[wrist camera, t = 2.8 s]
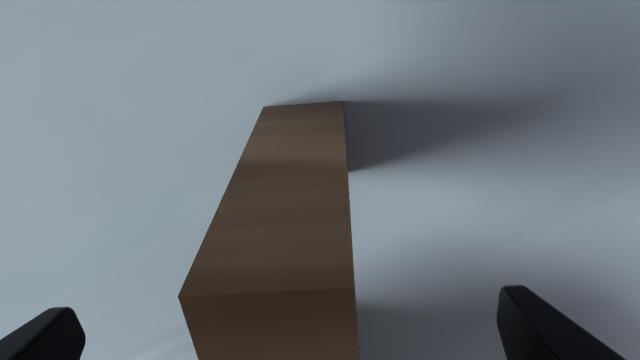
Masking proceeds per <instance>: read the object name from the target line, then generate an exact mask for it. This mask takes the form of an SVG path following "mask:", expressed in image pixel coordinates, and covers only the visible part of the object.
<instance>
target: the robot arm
mask: <svg viewBox="0 0 640 360" xmlns="http://www.w3.org/2000/svg"><path fill="white" fill-rule="evenodd" d="M497 326H498V330H499V333H500V337H501V340H502V343H503V347H504V350H505V353H506V357H507V360H626V359H625V358H623V357H622V356H620V355H619V354H618V353H616V352H615V351H614V350H612V349H611V348H609V347H608V346H607V345H605V344H604V343H603V342H601V341H600V340H598V339H597V338H596V337H594V336H593V335H592V334H590V333H589V332H587V331H586V330H585V329H583V328H582V327H581V326H579V325H578V324H576V323H575V322H574V321H572V320H571V319H570V318H568V317H567V316H565V315H564V314H563V313H561V312H560V311H558V310H557V309H556V308H554V307H553V306H552V305H550V304H549V303H547V302H546V301H545V300H543V299H542V298H541V297H539V296H538V295H536V294H535V293H534V292H532V291H531V290H530V289H528V288H527V287H525V286H523V285H509V286H503V287H502V288H501V290H500V295H499V302H498V310H497ZM84 345H85V333H84V330H83V328H82V326H81V324H80V322H79V320H78V318H77V316H76V313H75V312H74V310H73V309H72V308H70V307H54V308H50V309H48V310H46V311H44V312H43V313H41V314H40V315H38V316H37V317H35V318H34V319H32V320H30V321H29V322H27V323H26V324H24V325H23V326H21V327H20V328H18V329H16V330H15V331H13V332H12V333H10V334H9V335H7V336H6V337H4V338H3V339H1V340H0V360H79V359H80V357H81V354H82V351H83V349H84Z"/></svg>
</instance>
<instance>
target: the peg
mask: <svg viewBox="0 0 640 360" xmlns="http://www.w3.org/2000/svg"><path fill="white" fill-rule="evenodd" d="M178 298H179V301H180V304H181V307H182V310H183V313H184V316H185V319H186V322H187V325H188V329H189V332H190V335H191V338H192V341H193V344H194V347H195V350H196V353H197V356H198V359H199V360H359V348H358V332H357V315H356V299H355V283H354V267H353V251H352V234H351V218H350V202H349V186H348V170H347V155H346V139H345V124H344V109H343V101H340V102H327V103H314V104H301V105H288V106H275V107H263V109H262V111H261V114H260V116H259V118H258V120H257V122H256V125H255V127H254V129H253V131H252V133H251V136H250V138H249V140H248V142H247V145H246V147H245V149H244V151H243V153H242V156H241V158H240V160H239V162H238V164H237V167H236V169H235V171H234V173H233V176H232V178H231V180H230V182H229V184H228V187H227V189H226V191H225V193H224V196H223V198H222V200H221V202H220V204H219V207H218V209H217V211H216V213H215V215H214V218H213V220H212V222H211V224H210V227H209V229H208V231H207V233H206V235H205V238H204V240H203V242H202V244H201V246H200V249H199V251H198V253H197V255H196V258H195V260H194V262H193V264H192V266H191V269H190V271H189V273H188V275H187V277H186V280H185V282H184V284H183V286H182V289H181V291H180V293H179V295H178Z"/></svg>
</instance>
